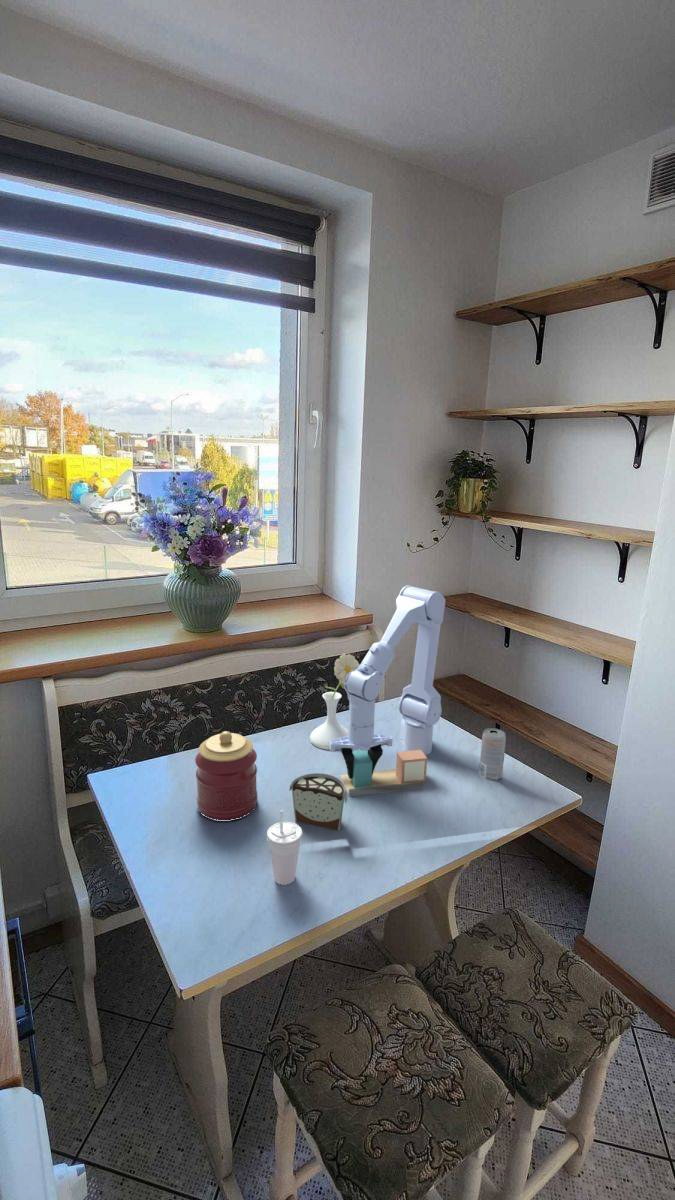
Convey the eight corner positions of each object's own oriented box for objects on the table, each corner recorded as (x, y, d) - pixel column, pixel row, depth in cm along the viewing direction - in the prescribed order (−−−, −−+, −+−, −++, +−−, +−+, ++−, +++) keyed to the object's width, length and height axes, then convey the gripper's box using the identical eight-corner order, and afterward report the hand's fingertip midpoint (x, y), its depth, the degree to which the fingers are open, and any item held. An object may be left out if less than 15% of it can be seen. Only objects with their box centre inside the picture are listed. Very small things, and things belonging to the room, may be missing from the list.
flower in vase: (314, 756, 153) (315, 664, 147) (305, 735, 164) (306, 648, 158) (363, 751, 156) (366, 660, 150) (352, 731, 167) (354, 645, 161)
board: (339, 779, 143) (340, 769, 143) (408, 772, 147) (408, 762, 146) (349, 800, 135) (349, 790, 134) (421, 792, 139) (421, 782, 138)
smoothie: (267, 866, 113) (266, 800, 110) (301, 865, 114) (302, 799, 110) (266, 891, 107) (265, 822, 104) (302, 889, 108) (303, 821, 104)
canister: (185, 805, 132) (181, 731, 127) (233, 782, 141) (231, 713, 137) (221, 831, 123) (218, 753, 119) (269, 805, 133) (269, 732, 128)
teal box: (354, 787, 138) (355, 764, 136) (348, 774, 143) (348, 751, 142) (371, 786, 139) (372, 762, 137) (364, 772, 144) (365, 749, 143)
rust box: (395, 774, 143) (396, 752, 142) (419, 772, 145) (421, 749, 143) (401, 784, 140) (402, 760, 138) (425, 781, 141) (427, 758, 139)
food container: (354, 820, 128) (355, 778, 125) (345, 837, 122) (346, 793, 120) (300, 808, 132) (300, 767, 129) (289, 824, 126) (289, 781, 124)
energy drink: (499, 773, 147) (504, 728, 144) (503, 785, 142) (508, 739, 139) (477, 772, 148) (481, 727, 145) (480, 783, 143) (484, 737, 140)
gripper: (334, 732, 132) (333, 788, 135) (397, 727, 135) (395, 781, 139) (327, 718, 139) (326, 771, 142) (388, 713, 142) (385, 765, 145)
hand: (359, 775), depth 141 cm, fingers closed on teal box, 4 cm apart
